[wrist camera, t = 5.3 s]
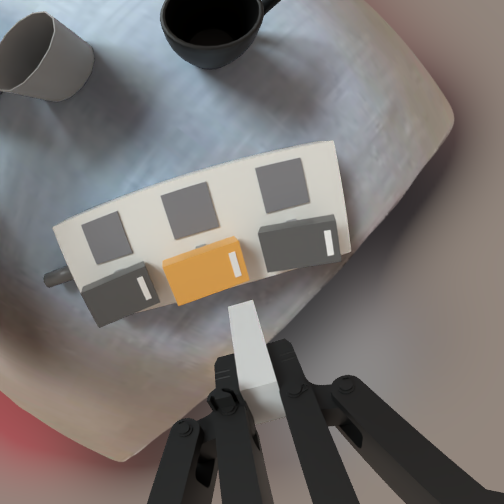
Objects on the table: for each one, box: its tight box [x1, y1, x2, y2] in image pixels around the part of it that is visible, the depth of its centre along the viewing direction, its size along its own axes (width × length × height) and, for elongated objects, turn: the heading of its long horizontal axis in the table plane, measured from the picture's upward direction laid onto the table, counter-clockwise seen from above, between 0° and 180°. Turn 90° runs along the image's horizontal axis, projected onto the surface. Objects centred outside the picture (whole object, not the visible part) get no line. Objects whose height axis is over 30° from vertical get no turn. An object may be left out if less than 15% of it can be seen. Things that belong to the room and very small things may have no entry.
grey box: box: [81, 261, 160, 328], centre depth 25 cm, size 7×4×2 cm, turn 104°
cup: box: [0, 11, 95, 102], centre depth 17 cm, size 8×8×10 cm
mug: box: [160, 0, 281, 69], centre depth 19 cm, size 8×12×10 cm
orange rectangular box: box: [162, 236, 250, 306], centre depth 25 cm, size 7×4×2 cm, turn 104°
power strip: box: [44, 141, 351, 313], centre depth 28 cm, size 36×12×6 cm, turn 104°
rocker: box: [258, 214, 341, 273], centre depth 26 cm, size 7×4×2 cm, turn 104°
